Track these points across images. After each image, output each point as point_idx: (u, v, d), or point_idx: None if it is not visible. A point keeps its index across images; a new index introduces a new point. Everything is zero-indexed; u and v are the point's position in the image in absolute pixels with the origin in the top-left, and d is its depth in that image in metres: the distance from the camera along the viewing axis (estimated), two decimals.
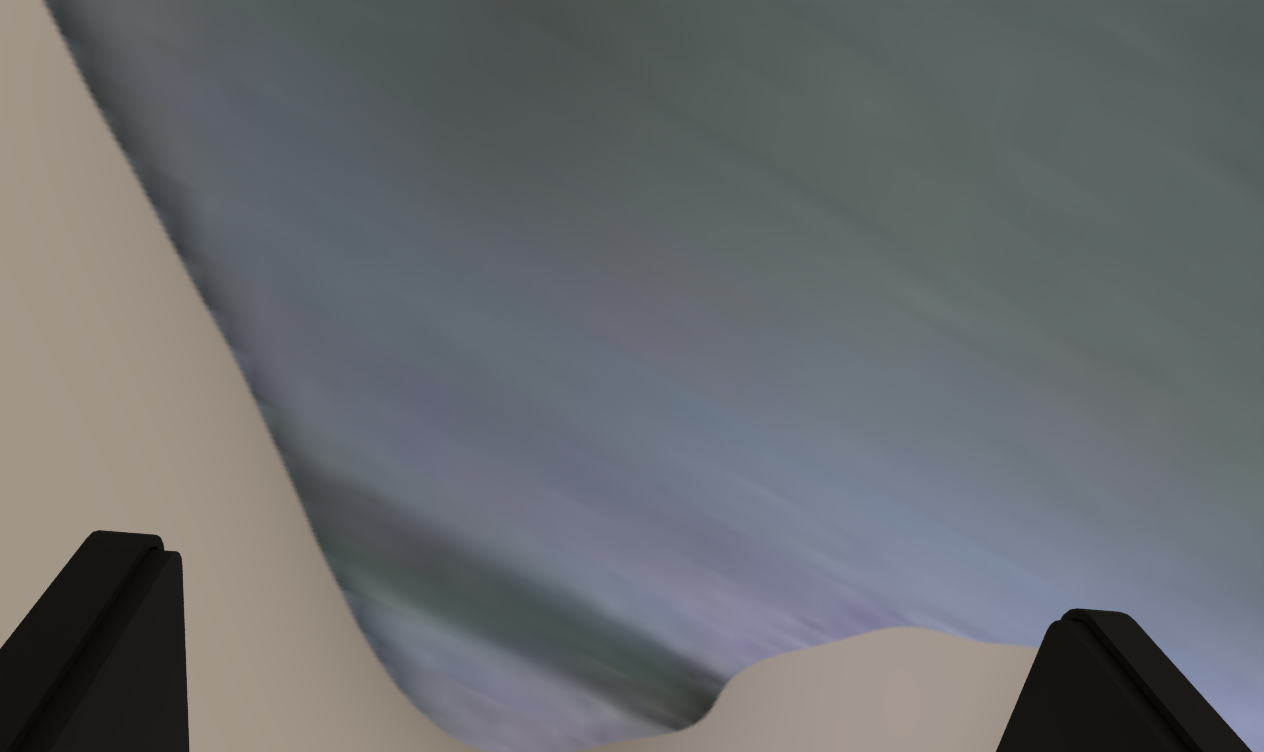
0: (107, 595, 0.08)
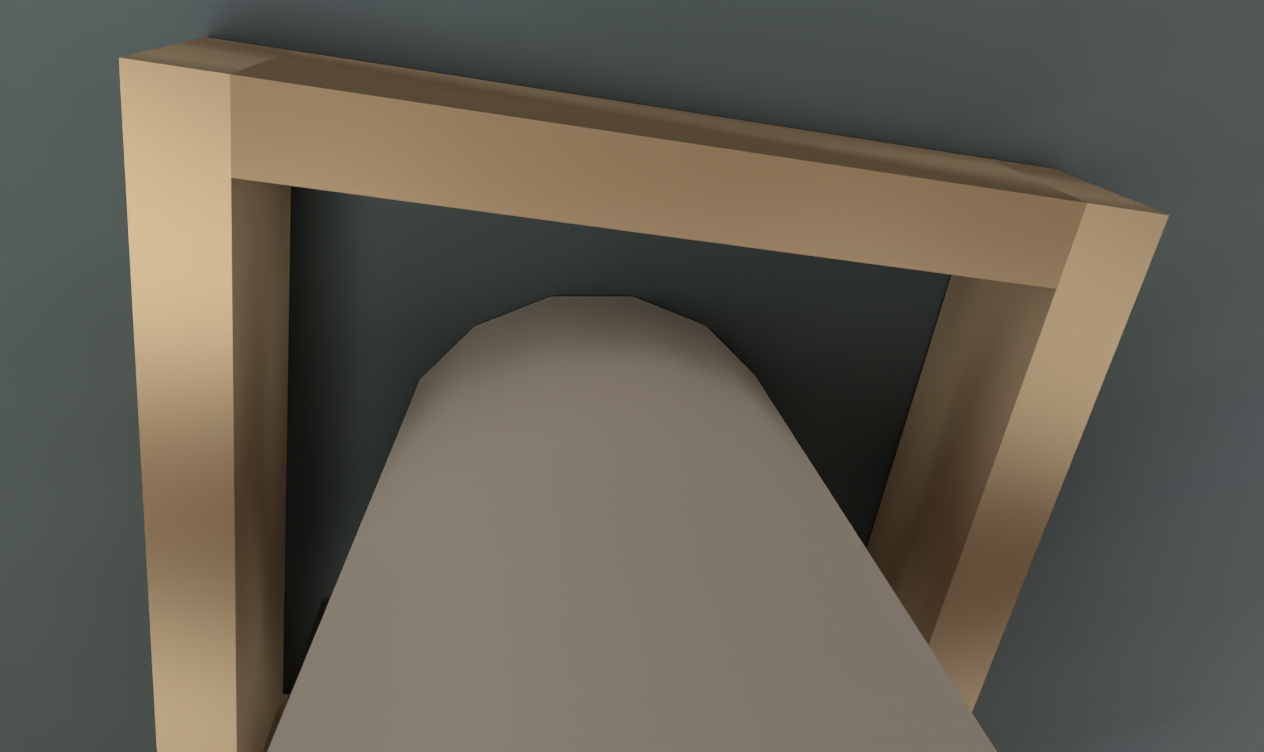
0: None
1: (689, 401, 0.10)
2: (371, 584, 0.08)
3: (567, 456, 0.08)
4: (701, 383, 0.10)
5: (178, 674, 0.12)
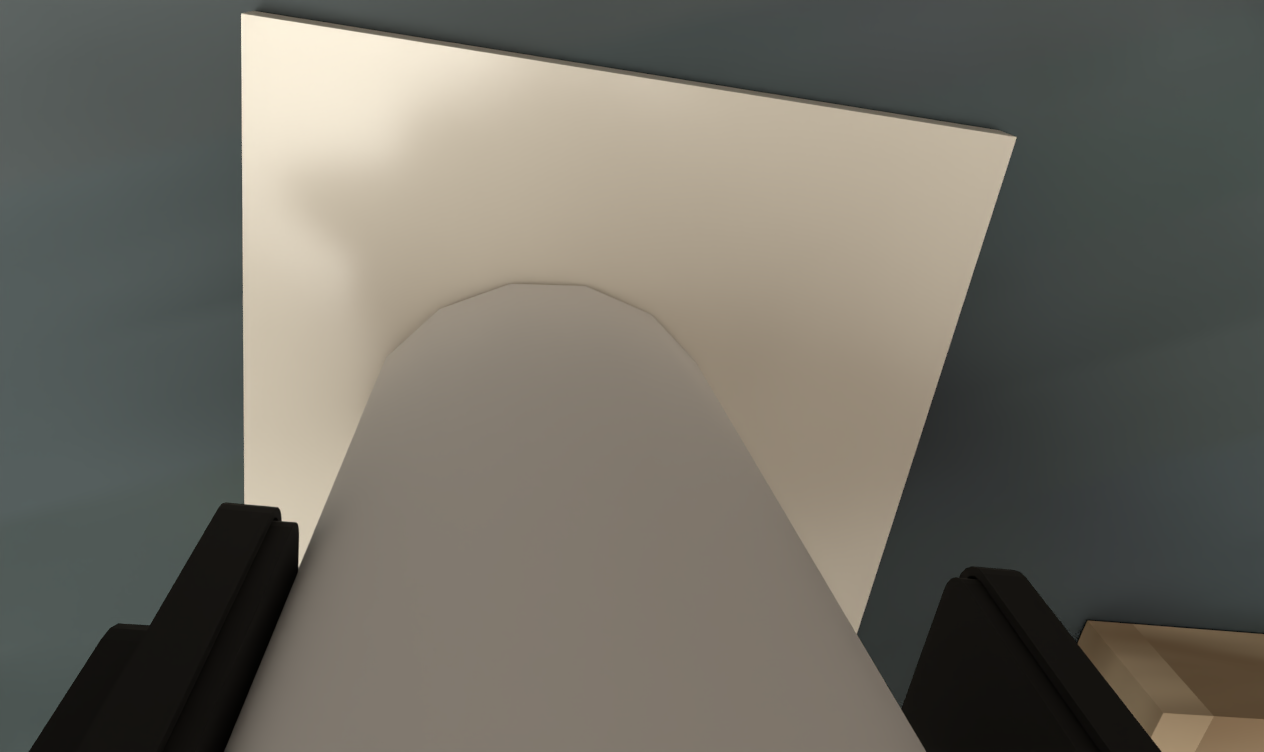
0: (245, 559, 0.08)
1: (633, 379, 0.11)
2: (350, 528, 0.09)
3: (524, 421, 0.09)
4: (645, 365, 0.12)
5: None
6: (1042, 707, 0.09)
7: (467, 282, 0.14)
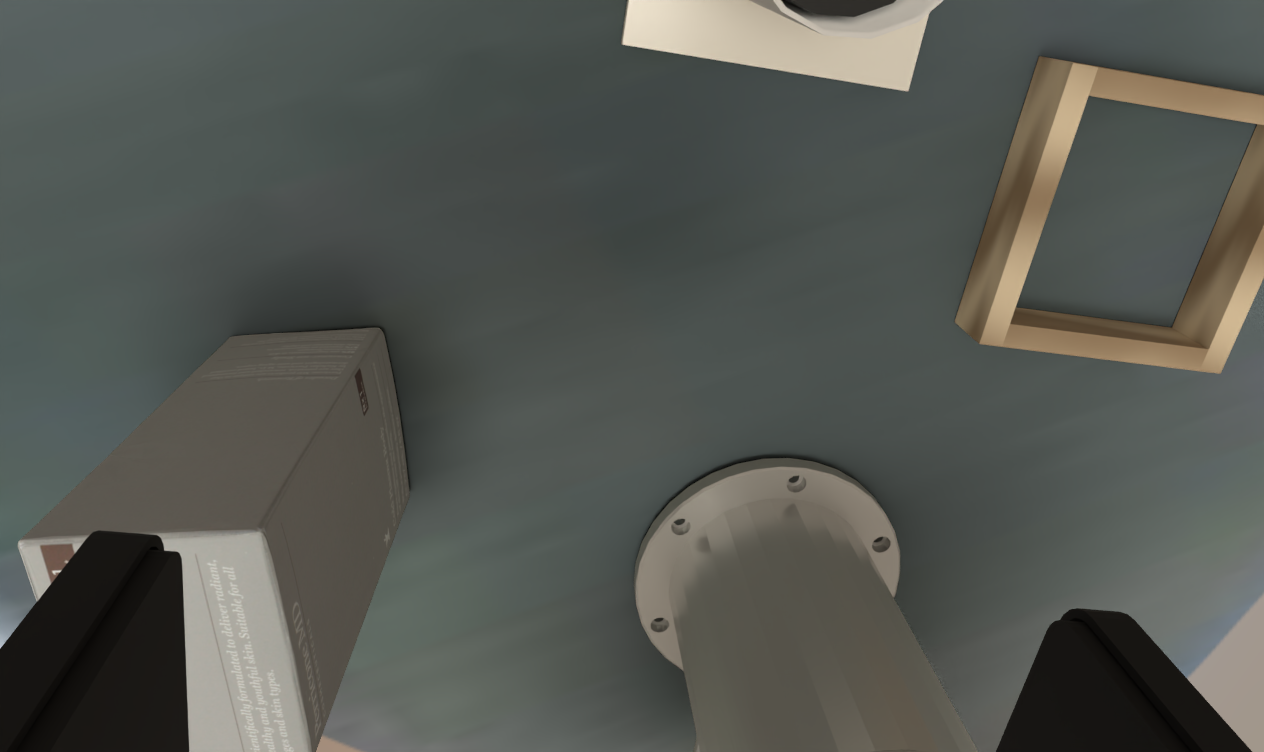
0: (107, 595, 0.08)
1: None
2: None
3: None
4: None
5: (1014, 260, 0.36)
6: None
7: None
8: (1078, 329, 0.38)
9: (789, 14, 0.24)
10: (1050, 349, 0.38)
